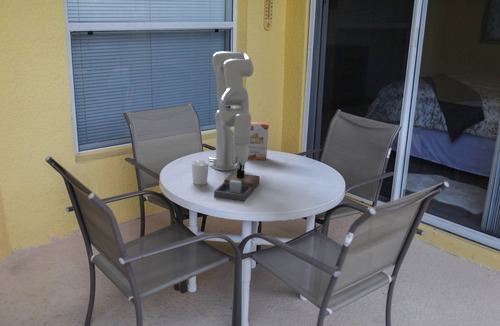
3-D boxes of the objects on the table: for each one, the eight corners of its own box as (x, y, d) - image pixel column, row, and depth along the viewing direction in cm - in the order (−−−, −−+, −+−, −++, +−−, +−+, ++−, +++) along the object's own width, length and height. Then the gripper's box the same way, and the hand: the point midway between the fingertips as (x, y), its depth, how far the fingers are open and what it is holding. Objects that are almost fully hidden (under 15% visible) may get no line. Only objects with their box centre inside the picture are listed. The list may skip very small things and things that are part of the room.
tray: (214, 197, 220) (214, 190, 219) (223, 188, 231) (223, 182, 231) (244, 201, 216) (244, 195, 215) (252, 192, 228) (252, 186, 227)
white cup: (195, 186, 232) (195, 166, 229) (189, 181, 239) (189, 161, 236) (210, 184, 236) (211, 164, 233) (204, 179, 242) (204, 159, 239)
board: (224, 187, 232) (224, 179, 231) (232, 179, 243) (232, 172, 242) (252, 191, 228) (252, 183, 227) (259, 183, 240) (259, 176, 238)
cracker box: (241, 159, 276) (243, 123, 270) (241, 156, 282) (243, 121, 275) (266, 160, 276) (268, 124, 270) (266, 157, 282) (268, 122, 276)
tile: (231, 189, 228) (229, 191, 226) (231, 179, 226) (229, 181, 224) (241, 190, 227) (240, 193, 225) (241, 181, 225) (240, 183, 223)
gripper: (239, 135, 233) (237, 172, 239) (228, 142, 220) (227, 181, 225) (254, 137, 231) (252, 174, 237) (245, 144, 218) (243, 183, 223)
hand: (240, 177), depth 231 cm, fingers closed
